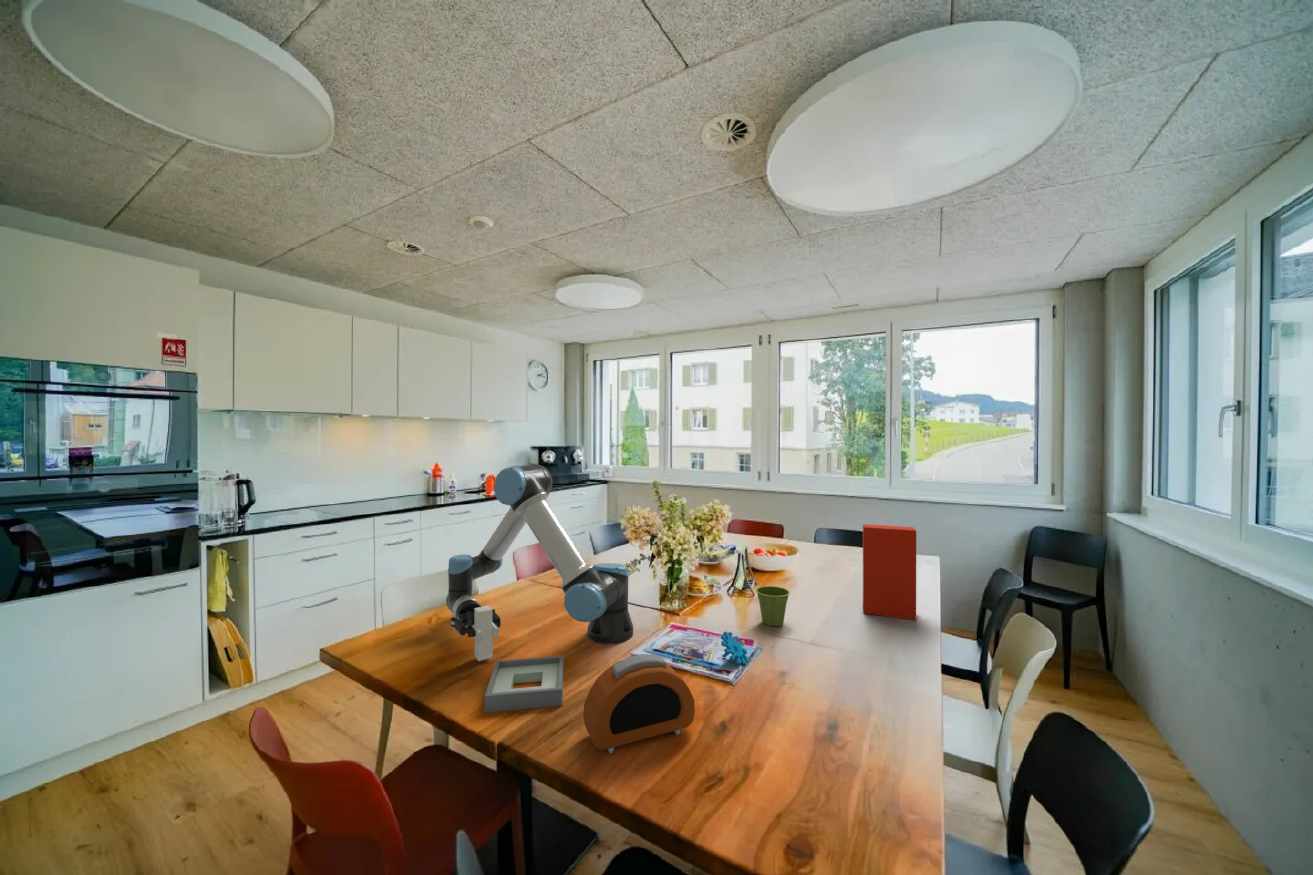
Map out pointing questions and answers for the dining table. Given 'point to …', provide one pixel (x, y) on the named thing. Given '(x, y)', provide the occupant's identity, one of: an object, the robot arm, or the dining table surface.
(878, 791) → the dining table surface
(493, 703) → the bore box
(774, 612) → the plant pot
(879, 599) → the file binder
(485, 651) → the peg
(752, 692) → the dining table surface
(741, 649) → the gear
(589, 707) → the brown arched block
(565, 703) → the dining table surface
